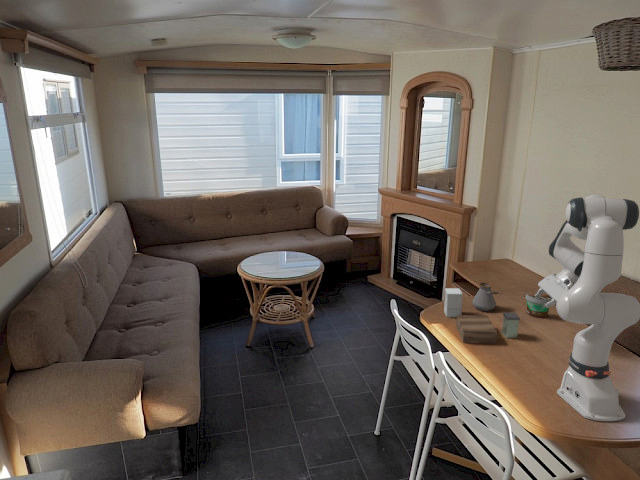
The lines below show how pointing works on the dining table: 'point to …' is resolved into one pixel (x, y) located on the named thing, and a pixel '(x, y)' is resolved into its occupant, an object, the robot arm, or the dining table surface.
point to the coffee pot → (484, 297)
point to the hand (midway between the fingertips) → (540, 302)
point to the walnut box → (476, 329)
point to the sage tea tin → (510, 325)
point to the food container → (537, 306)
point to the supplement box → (453, 302)
